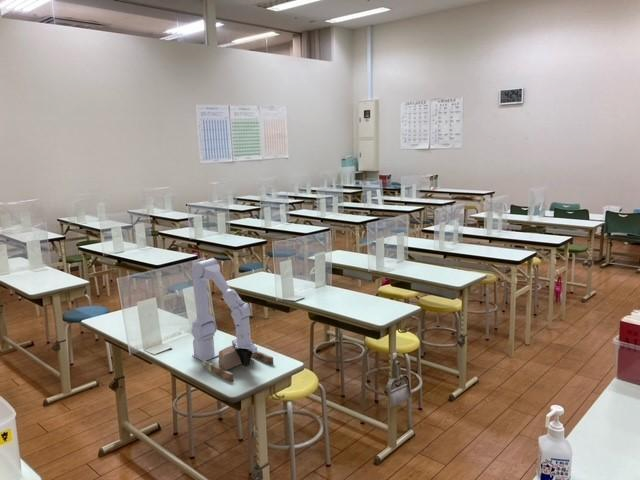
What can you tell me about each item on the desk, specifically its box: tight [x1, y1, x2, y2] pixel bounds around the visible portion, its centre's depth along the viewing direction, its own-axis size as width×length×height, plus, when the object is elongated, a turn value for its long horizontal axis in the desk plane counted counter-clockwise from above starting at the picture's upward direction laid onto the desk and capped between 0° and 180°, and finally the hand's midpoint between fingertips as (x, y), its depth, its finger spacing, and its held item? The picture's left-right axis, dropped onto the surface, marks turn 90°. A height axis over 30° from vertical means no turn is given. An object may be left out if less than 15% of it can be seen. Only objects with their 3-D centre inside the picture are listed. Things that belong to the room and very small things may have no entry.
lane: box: [202, 350, 274, 383], centre depth 208 cm, size 20×22×3 cm
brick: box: [218, 339, 255, 371], centre depth 208 cm, size 16×8×5 cm
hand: (245, 364), depth 205 cm, fingers closed
